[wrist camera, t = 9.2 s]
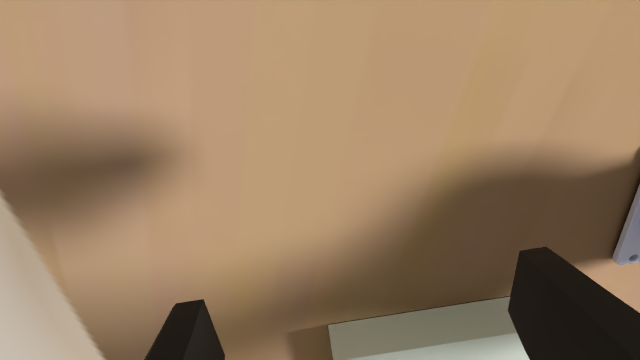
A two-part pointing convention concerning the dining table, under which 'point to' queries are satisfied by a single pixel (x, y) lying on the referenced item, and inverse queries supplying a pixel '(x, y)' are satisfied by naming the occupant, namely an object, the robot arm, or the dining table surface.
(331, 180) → the dining table surface
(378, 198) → the dining table surface
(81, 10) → the dining table surface
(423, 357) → the base
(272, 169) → the dining table surface
